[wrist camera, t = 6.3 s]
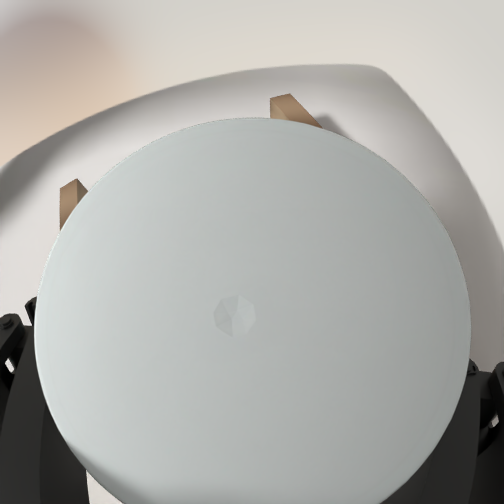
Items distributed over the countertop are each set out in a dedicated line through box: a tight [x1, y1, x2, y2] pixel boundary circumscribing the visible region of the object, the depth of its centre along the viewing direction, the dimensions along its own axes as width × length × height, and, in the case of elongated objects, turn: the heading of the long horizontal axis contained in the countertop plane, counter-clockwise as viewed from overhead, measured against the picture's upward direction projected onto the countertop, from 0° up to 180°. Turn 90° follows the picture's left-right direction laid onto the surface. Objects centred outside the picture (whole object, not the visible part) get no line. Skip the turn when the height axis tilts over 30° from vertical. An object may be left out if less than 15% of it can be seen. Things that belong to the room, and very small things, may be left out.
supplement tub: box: [34, 118, 471, 504], centre depth 11 cm, size 10×10×15 cm
